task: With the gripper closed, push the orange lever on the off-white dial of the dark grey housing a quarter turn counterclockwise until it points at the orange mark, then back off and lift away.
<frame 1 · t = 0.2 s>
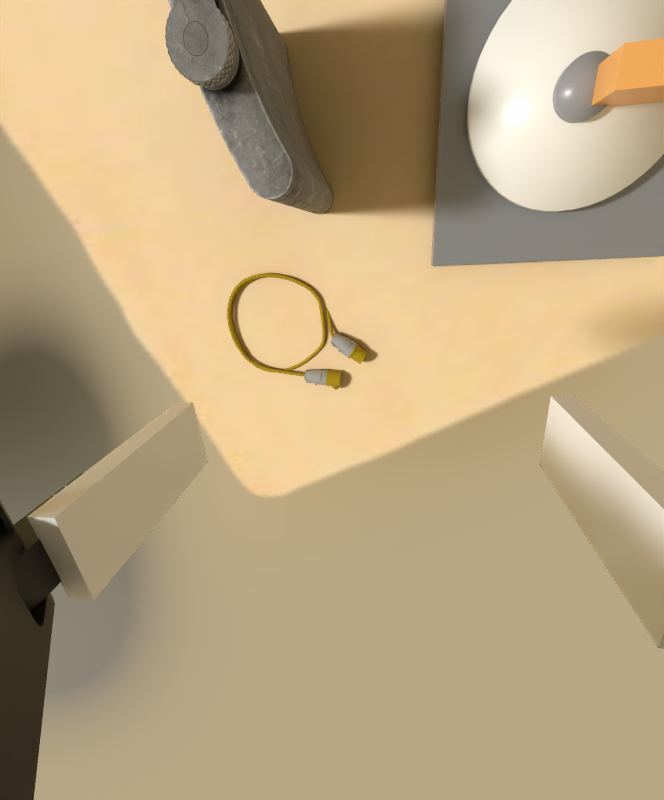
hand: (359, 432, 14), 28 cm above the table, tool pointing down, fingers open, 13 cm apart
flask: (292, 133, 34), on the table
dial housing: (565, 103, 30), on the table
dial: (603, 82, 26), point 4 cm above the table, hinge at 0.0°
extension cord: (293, 335, 42), on the table
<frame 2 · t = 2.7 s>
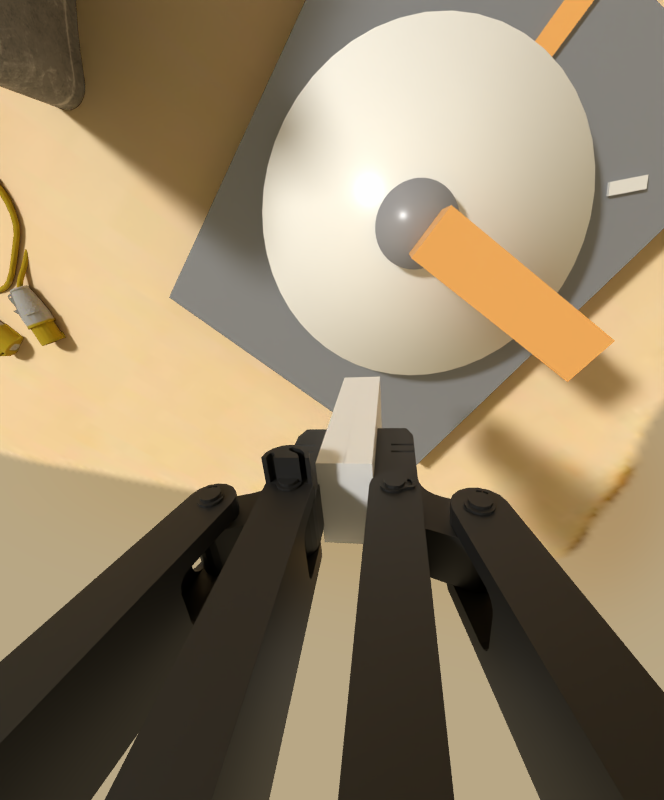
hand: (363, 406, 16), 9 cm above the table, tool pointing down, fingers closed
dial housing: (413, 226, 21), on the table
dial: (429, 235, 17), point 4 cm above the table, hinge at 0.0°
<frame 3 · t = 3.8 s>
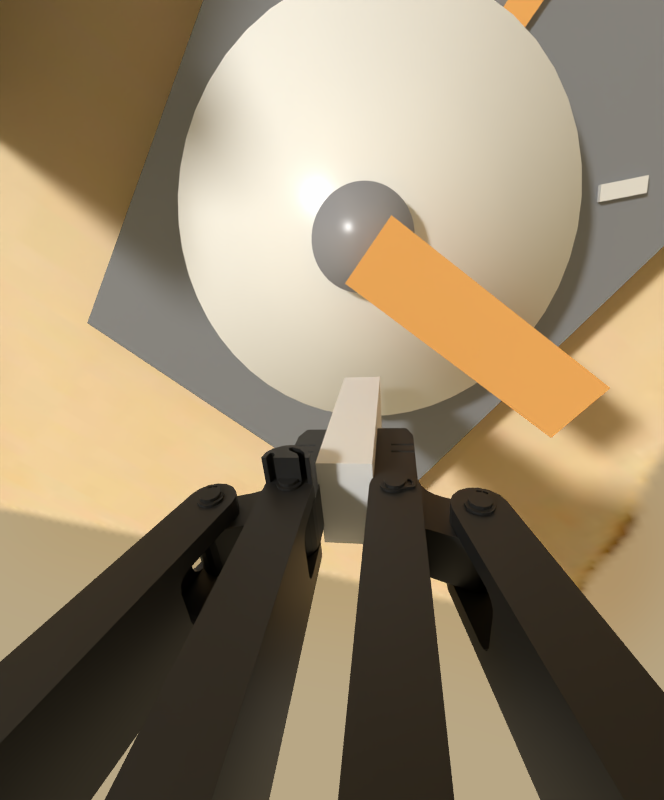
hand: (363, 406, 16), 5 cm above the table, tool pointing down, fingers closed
dial housing: (367, 239, 18), on the table
dial: (376, 252, 14), point 4 cm above the table, hinge at 0.0°
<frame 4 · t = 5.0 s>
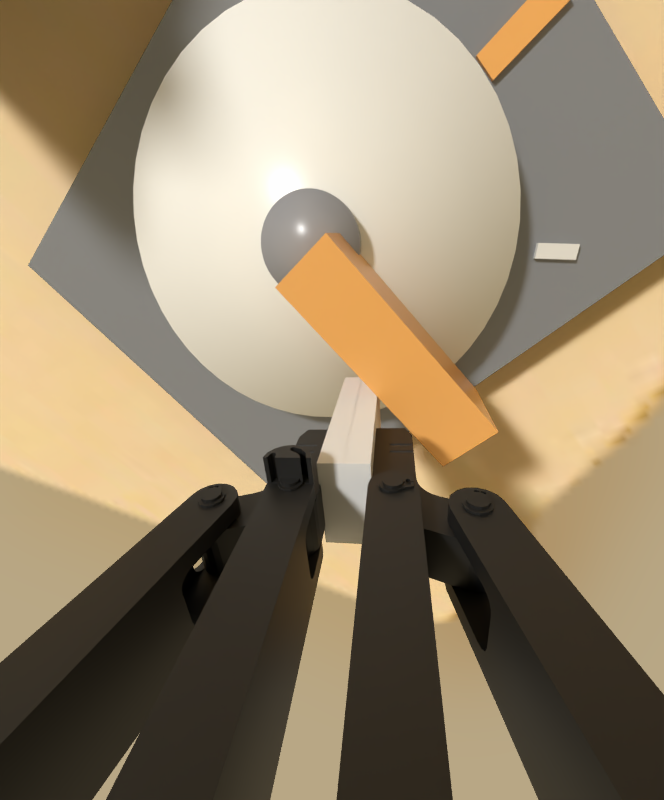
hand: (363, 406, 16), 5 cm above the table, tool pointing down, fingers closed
dial housing: (325, 243, 18), on the table
dial: (319, 261, 14), point 4 cm above the table, hinge at 0.1°, touching gripper
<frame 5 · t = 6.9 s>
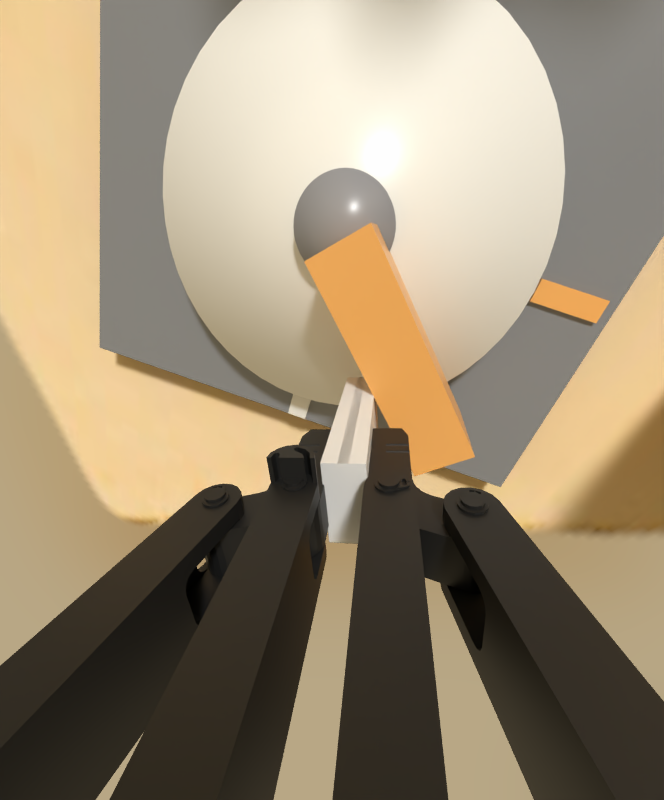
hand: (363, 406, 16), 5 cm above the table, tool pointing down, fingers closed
dial housing: (354, 228, 18), on the table
dial: (350, 247, 14), point 4 cm above the table, hinge at 44.8°, touching gripper
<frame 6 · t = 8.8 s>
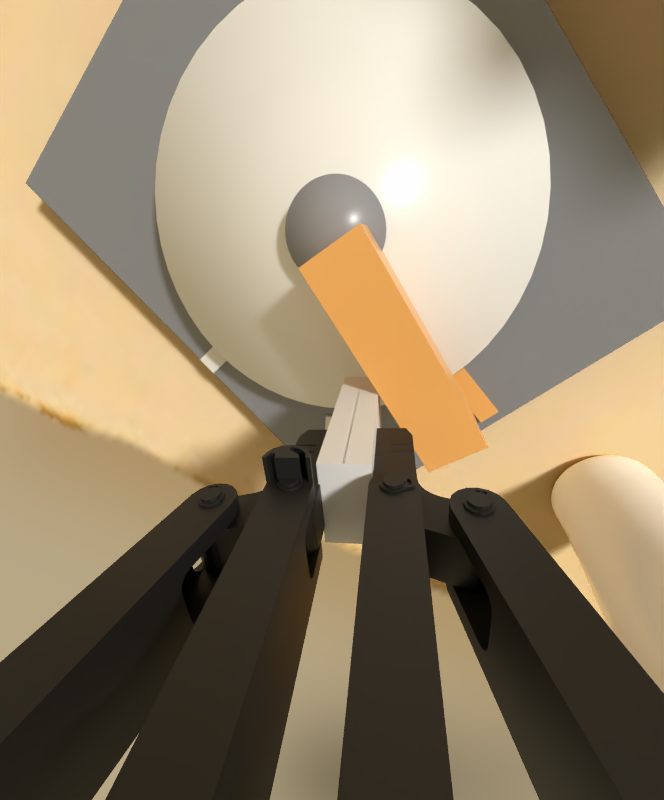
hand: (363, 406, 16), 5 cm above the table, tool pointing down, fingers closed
dial housing: (346, 233, 18), on the table
drinking glass: (596, 487, 21), on the table
dial: (342, 250, 14), point 4 cm above the table, hinge at 81.5°, touching gripper
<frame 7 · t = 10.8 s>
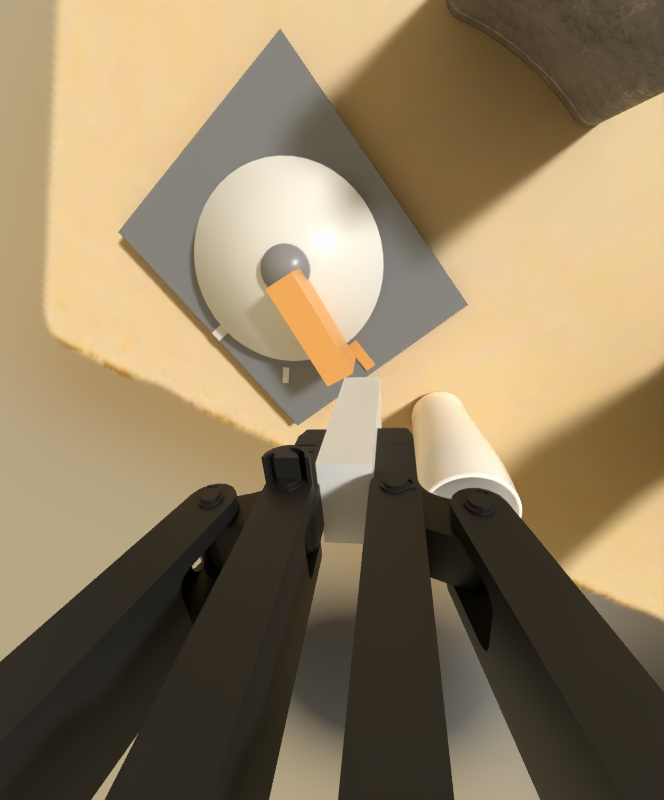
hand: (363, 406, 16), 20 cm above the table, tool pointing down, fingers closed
flask: (536, 43, 26), on the table
dial housing: (294, 266, 33), on the table
drinking glass: (437, 412, 38), on the table
dial: (287, 279, 30), point 4 cm above the table, hinge at 81.5°
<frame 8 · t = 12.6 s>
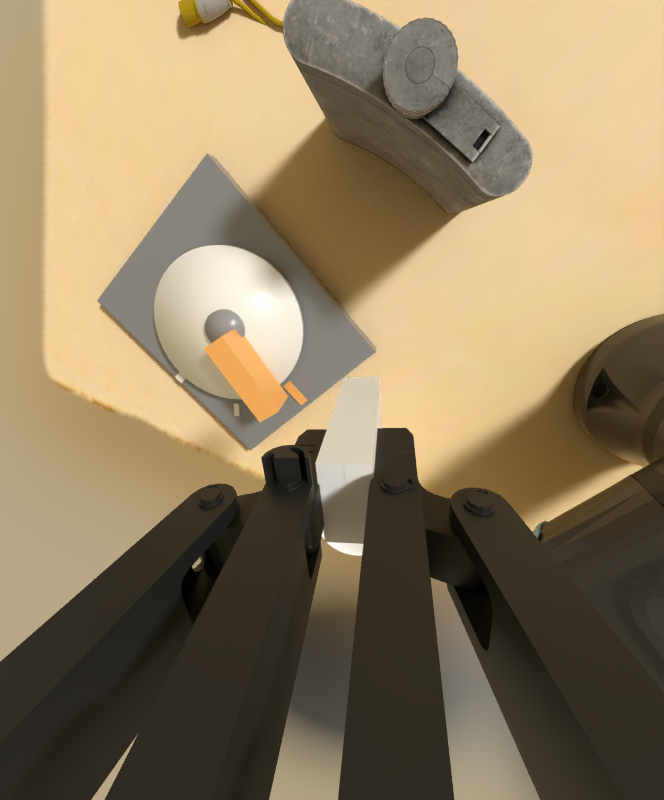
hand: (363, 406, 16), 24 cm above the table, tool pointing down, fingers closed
flask: (404, 154, 33), on the table
dial housing: (237, 322, 41), on the table
drinking glass: (366, 437, 45), on the table
dial: (225, 338, 37), point 4 cm above the table, hinge at 81.5°
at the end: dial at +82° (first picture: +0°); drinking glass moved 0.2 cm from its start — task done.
